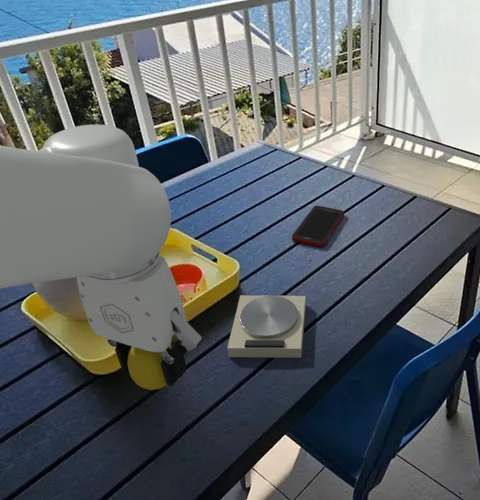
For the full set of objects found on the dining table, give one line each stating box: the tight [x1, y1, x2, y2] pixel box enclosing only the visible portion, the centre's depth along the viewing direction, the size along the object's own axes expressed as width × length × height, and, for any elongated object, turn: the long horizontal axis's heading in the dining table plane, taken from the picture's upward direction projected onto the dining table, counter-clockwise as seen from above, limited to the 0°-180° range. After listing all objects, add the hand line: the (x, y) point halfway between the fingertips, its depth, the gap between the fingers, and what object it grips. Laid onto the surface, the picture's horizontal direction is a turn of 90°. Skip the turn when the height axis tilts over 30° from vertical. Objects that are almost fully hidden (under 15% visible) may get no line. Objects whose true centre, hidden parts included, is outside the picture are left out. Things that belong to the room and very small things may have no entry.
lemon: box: [128, 343, 173, 391], centre depth 60 cm, size 6×6×8 cm
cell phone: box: [291, 205, 345, 248], centre depth 114 cm, size 8×15×1 cm, turn 162°
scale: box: [227, 294, 307, 359], centre depth 87 cm, size 13×12×3 cm
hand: (154, 368), depth 61 cm, fingers closed on lemon, 5 cm apart
